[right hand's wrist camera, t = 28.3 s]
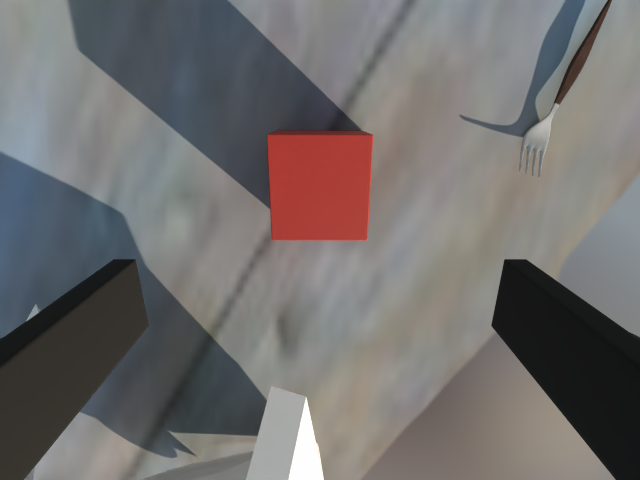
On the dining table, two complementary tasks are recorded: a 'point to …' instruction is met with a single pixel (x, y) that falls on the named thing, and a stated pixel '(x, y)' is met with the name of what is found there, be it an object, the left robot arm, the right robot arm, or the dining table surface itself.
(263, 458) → the white plastic object
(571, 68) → the fork
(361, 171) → the brick
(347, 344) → the dining table surface
